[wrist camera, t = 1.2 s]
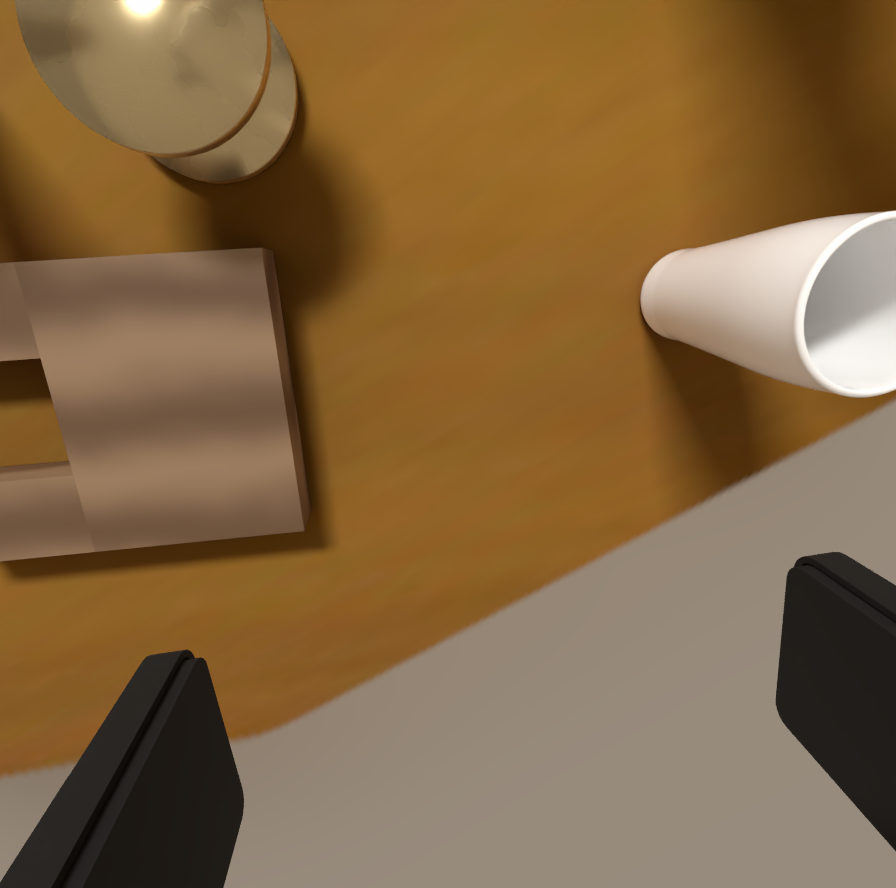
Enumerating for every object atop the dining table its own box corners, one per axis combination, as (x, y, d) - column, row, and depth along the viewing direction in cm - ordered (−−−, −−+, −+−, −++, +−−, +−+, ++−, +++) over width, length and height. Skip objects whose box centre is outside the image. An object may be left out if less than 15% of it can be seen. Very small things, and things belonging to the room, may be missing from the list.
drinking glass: (673, 371, 36) (863, 435, 21) (602, 300, 34) (758, 318, 20) (751, 289, 35) (1006, 299, 20) (682, 211, 33) (909, 161, 18)
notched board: (-108, 272, 30) (-162, 272, 27) (272, 250, 31) (261, 247, 28) (-15, 542, 34) (-52, 566, 31) (311, 510, 36) (304, 531, 33)
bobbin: (96, -14, 27) (-19, -128, 19) (284, -18, 28) (245, -130, 20) (139, 188, 30) (52, 158, 22) (309, 179, 30) (282, 147, 23)
